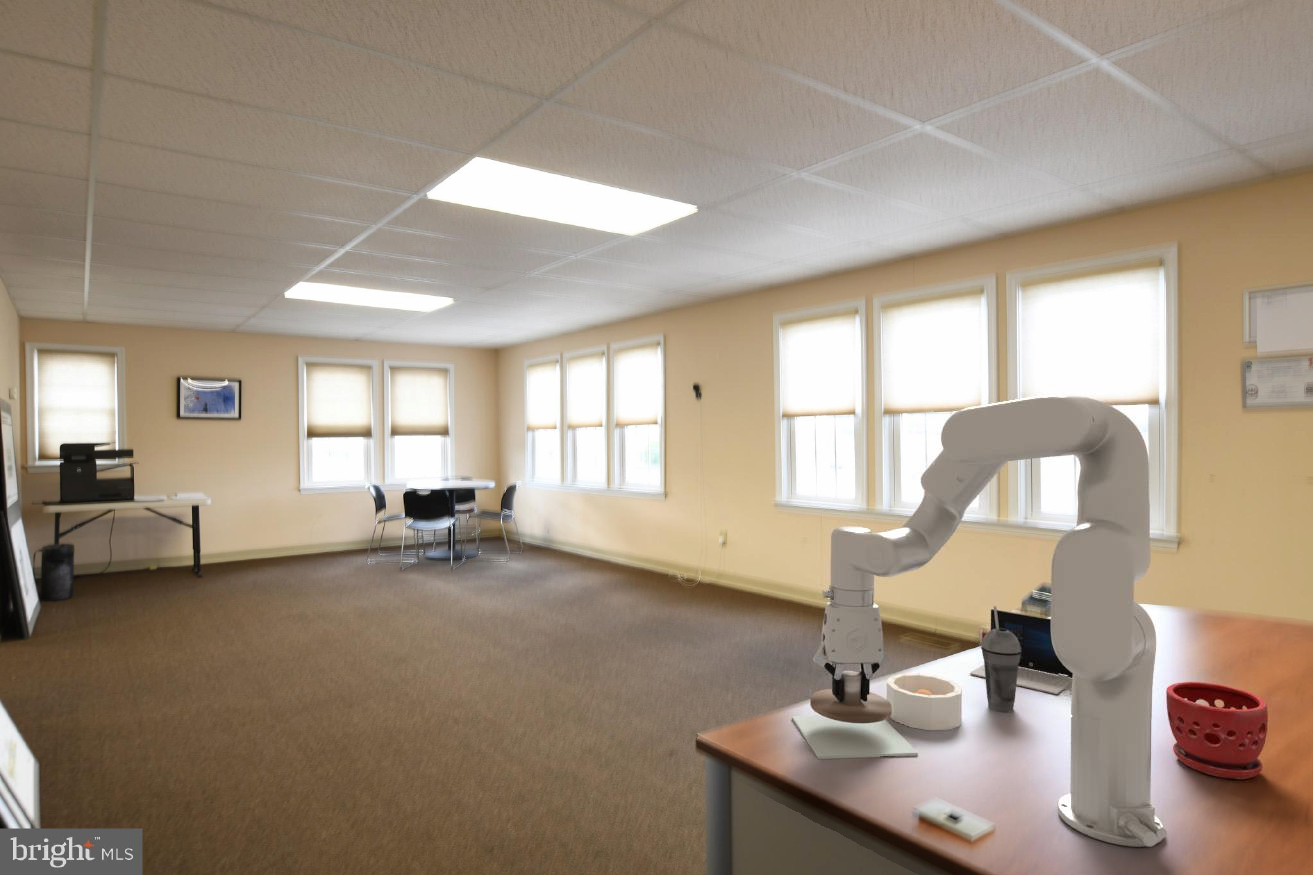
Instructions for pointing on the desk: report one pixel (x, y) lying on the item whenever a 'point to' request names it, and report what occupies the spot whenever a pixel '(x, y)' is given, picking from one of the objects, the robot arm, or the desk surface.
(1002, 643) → the beverage cup
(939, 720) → the bowl
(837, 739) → the mat
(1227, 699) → the plant pot
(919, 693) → the ball
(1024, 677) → the laptop
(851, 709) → the lid
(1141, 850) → the desk surface
